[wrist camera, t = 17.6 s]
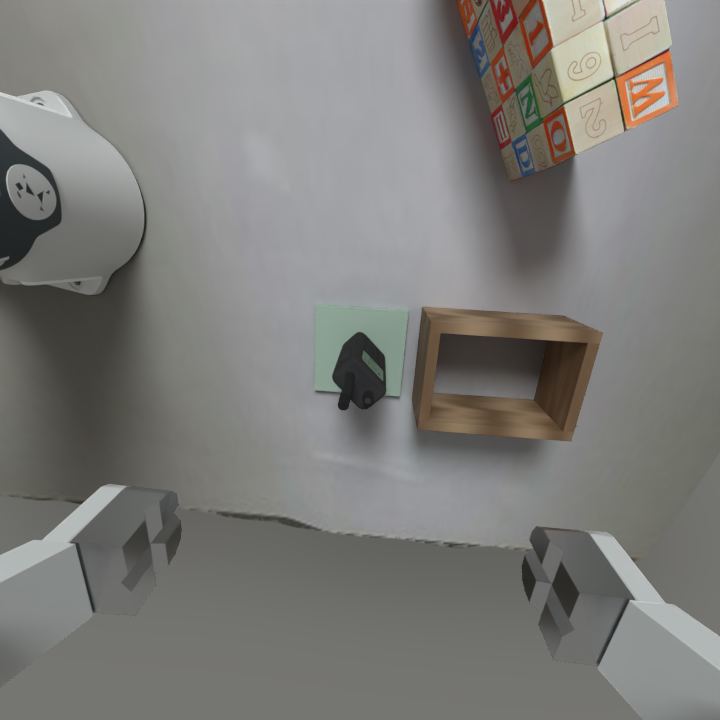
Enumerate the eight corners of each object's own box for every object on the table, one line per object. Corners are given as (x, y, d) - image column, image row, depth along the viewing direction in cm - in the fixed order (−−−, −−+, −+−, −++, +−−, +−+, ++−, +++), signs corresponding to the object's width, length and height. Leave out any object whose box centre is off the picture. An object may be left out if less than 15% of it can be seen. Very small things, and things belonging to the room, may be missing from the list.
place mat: (315, 388, 42) (314, 390, 41) (316, 304, 39) (315, 305, 38) (399, 394, 42) (399, 396, 41) (408, 310, 38) (408, 311, 38)
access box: (411, 399, 42) (417, 429, 35) (422, 306, 38) (430, 321, 31) (540, 408, 41) (571, 441, 35) (563, 315, 37) (602, 332, 31)
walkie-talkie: (388, 358, 40) (391, 426, 25) (365, 376, 40) (356, 452, 26) (359, 327, 39) (346, 379, 24) (336, 346, 39) (311, 407, 25)
